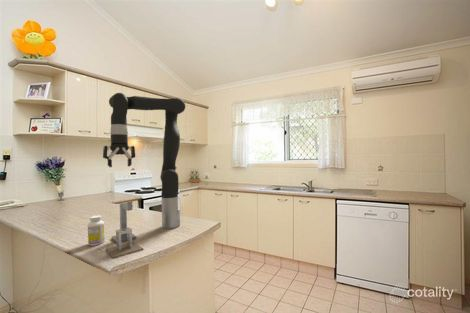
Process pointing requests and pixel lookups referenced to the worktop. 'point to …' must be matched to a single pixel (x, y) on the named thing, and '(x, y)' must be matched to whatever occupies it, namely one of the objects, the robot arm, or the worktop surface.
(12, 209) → the worktop surface
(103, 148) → the robot arm
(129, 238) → the hook
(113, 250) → the cork mat
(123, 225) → the stand
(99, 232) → the supplement bottle
